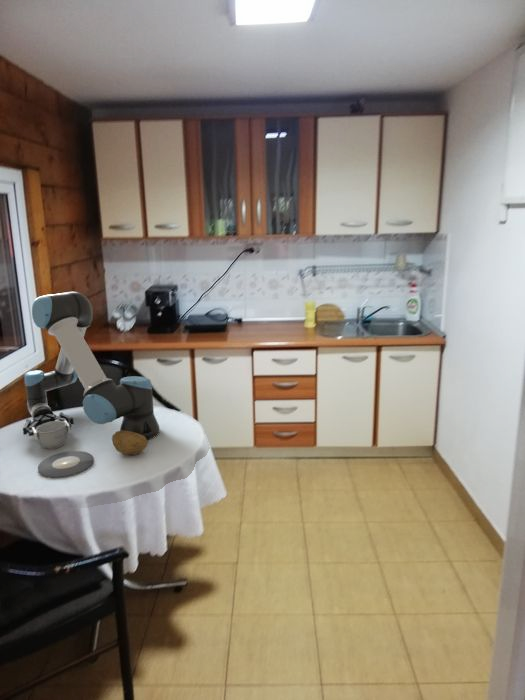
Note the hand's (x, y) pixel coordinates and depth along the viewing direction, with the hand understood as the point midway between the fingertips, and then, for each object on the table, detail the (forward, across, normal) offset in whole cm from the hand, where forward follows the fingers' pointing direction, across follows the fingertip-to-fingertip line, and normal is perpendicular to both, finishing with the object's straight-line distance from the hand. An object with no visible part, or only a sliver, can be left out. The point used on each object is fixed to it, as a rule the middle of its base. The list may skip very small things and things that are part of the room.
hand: (52, 432), depth 183 cm
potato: (+21, -22, -6) cm, 31 cm away
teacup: (-4, -1, -6) cm, 7 cm away
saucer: (+17, -1, -6) cm, 18 cm away
